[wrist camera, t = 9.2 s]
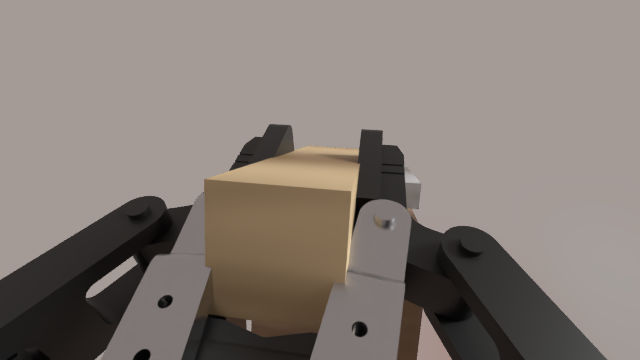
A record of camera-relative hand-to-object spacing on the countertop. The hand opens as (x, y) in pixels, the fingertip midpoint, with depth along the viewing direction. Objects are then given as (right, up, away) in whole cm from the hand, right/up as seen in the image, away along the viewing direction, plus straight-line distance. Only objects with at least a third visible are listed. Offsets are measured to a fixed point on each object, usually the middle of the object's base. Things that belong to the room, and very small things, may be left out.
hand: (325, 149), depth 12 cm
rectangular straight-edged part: (0, -2, +4) cm, 4 cm away
